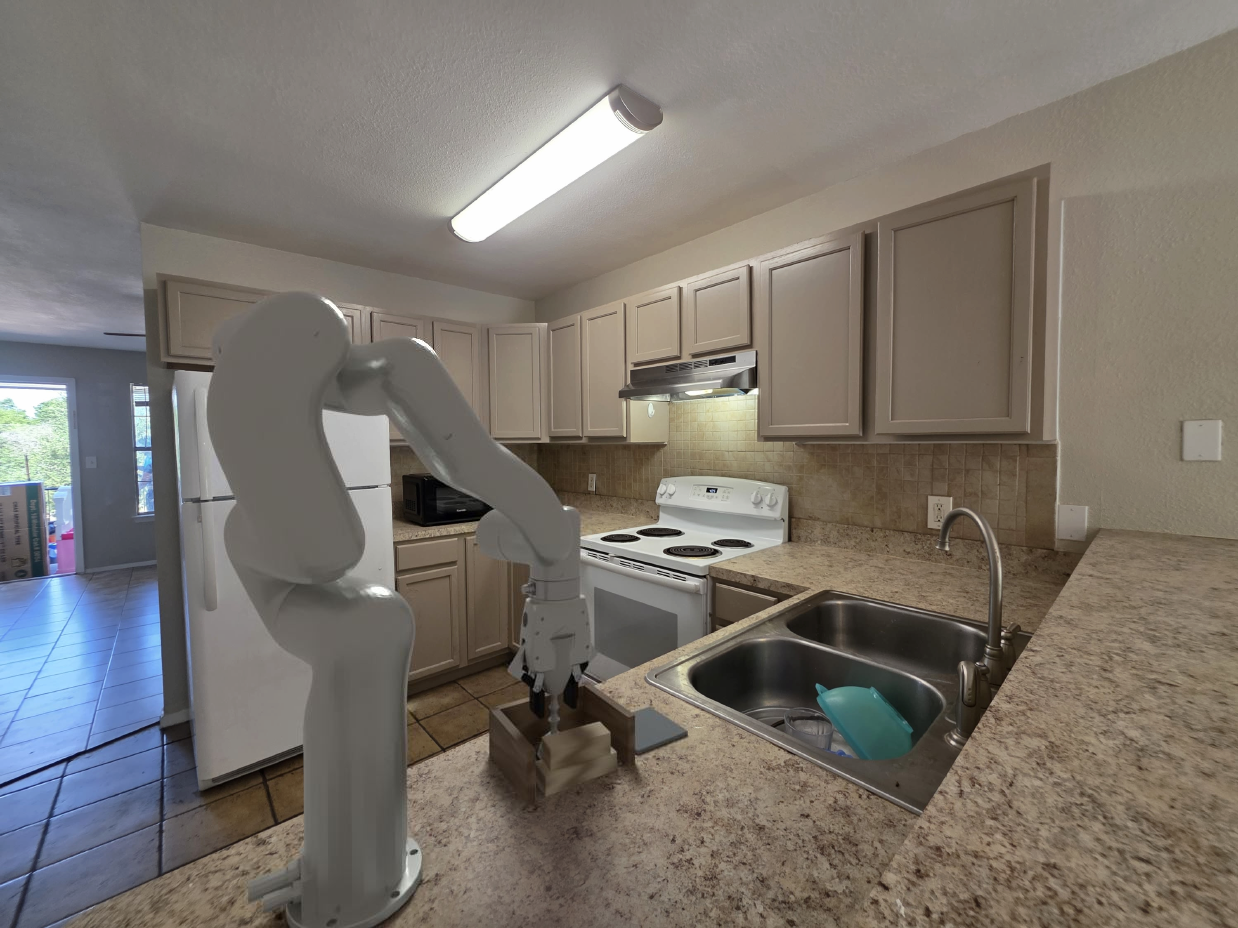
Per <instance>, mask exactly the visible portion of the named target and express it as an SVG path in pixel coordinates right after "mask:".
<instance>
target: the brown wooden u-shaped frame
mask: <svg viewBox="0 0 1238 928" xmlns="http://www.w3.org/2000/svg"><path fill="white" fill-rule="evenodd" d="M557 701H558V705H559V708H558V711H557V715H558V717H559V718H560V720H559V721H558V724H557V730H558V731H559V732H562V731H566V730H570V729H573V728H577V727H581V726H585V725H588V724H592V723H596V722H601V723H602V724H603V725H604V726H605V727H606V729H607V730H608V731H609V732H610V733H611V747H612V748H613V749H614V750H615V751H616V752H617V758H619V759H620V760H622V761H623V762H624V763H625V765H627V766H631V765H634V764H635V763H636V753H635V715H634V714H633V713H632V712H631V711H630V710H628V708H626V707H625V706H623V705H621V704H620V703H618V702H617V701H616V700H614V699H613V698H611V697H610V696H609V695H607V694H606V693H605V692H603V691H602V690H600V689H599V688H598V687H596V686H594V685H593V684H592V683H591V682H589V681H587V680H585V681H582V682H578V700H577V708H576V709H571V708H570V707H569V706H568V705H566V704H565V703H564V702H563V692H562V693H561V694H558V697H557ZM550 704H551V695H550V694H547V693H546V692H545V717H544V718H542V719H539V718H538V717H537V716H536V715H535V714H534V713H533V712H532V711H531V710H530V707H529V697H528V696H527V697H526V698H522V699H518V700H515V701H510V702H507V703H504V704H500V705H496V706H493V707H489V708H488V725H489V726H488V740H489V741H488V751H489V752H488V754H489V757H490V758H491V759H492V761H493V763H495V765H496V766H497V767H498V769H499V770H500V772H501V774H502V775H504V777H505V779H506V780H507V781H508V783H509V784H510V786H511V787H512V788H513V789H514V791H515V793H516V794H517V795H518V796H519V798H520V799H521V801H522V803H524V805H525V806H526V807H527V808H528V807H530V806H532V805H535V804H536V803H537V802H536V794H537V791H536V788H537V786H536V785H537V784H536V761H537V760H536V755H537V753H536V748H535V746H533V745H536V744H539V743H540V744H541V742H542V737H543V736H545V735H546V734H547V733H549V732H550V731H551V723H550V722H549V720H548V719H549V718H550V717H551V710H550V708H549V706H550Z"/></svg>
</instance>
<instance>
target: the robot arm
mask: <svg viewBox="0 0 1238 928" xmlns="http://www.w3.org/2000/svg"><path fill="white" fill-rule="evenodd" d="M211 337H212V338H211V341H210V355H211V360H212V362H213V365H214V367H213V371H212V374H211V378H210V381H209V386H208V391H207V397H206V398H207V399H206V423H207V429H208V431H207V432H208V434H209V438H210V441H211V442H210V443H211V445H212V448H213V451H214V453H215V456H216V458H217V461H218V463H219V466H220V468H221V469H222V472H223V475H224V477H225V478H226V482H227V484H228V486H229V489H230V491H231V493H232V495H233V497H234V499H235V501H236V503H235V504H234V506H233V507H232V508H231V510H230V511H229V512H228V514H227V517H226V519H225V523H224V527H223V541H224V542H223V543H224V548H225V551H226V554H227V558H228V559H229V561H230V564H231V565H232V567H233V569H234V571H235V574H236V575H237V577H238V579H239V581H240V582H241V584H242V587H243V588H244V590H245V592H246V593H247V596H248V598H249V600H250V601H251V603H252V605H253V607H254V609H255V610H256V613H257V614H258V616H259V617H260V620H261V622H262V624H263V625H264V627H265V628H266V630H267V632H268V633H269V634H270V636H271V638H272V639H273V641H274V642H275V643H276V644H277V645H278V646H279V647H280V648H281V649H283V650H284V651H285V652H287V653H289V654H290V655H291V656H294V657H295V658H298V659H299V660H301V661H303V662H304V663H306V664H307V665H309V666H310V667H311V670H312V672H311V673H312V677H311V685H310V687H309V688H310V689H309V693H308V696H307V700H306V704H305V709H304V713H303V714H304V716H303V726H302V727H303V730H302V731H303V732H302V751H303V844H301V845H300V846H299V851H298V853H299V855H298V856H299V857H298V858H296V859H293V860H291V861H288V862H287V866H286V867H283V868H281V869H278V870H275V871H271V872H267V873H265V874H262V875H260V876H257V877H255V878H251V879H249V880H248V889H247V890H248V892H247V895H248V896H247V899H248V900H247V902H248V903H247V904H248V905H250V904H253V903H255V902H256V903H257V902H258V901H261V900H262V914H263V915H264V914H267V913H270V912H272V911H274V910H277V909H279V908H280V907H281V906H285V916H286V917H285V918H286V922H287V924H288V926H289V928H373V927H376V926H377V925H378V924H380V923H382V922H383V921H385V920H386V919H388V918H390V916H392V915H394V913H396V911H398V910H399V909H400V908H401V907H402V906H403V905H404V904H405V903H406V902H407V901H408V900H409V899H410V897H411V896H412V895H413V894H414V892H415V891H416V890H417V887H418V886H419V883H420V881H421V879H422V876H423V871H424V869H423V868H424V857H423V850H422V849H421V847H420V845H419V843H418V842H417V841H416V840H415V839H414V838H412V837H410V836H409V835H408V725H407V724H408V723H407V719H408V717H407V714H408V711H407V710H408V709H407V708H408V706H407V705H408V702H407V701H408V698H407V697H408V683H409V674H410V668H411V661H412V656H413V652H414V646H415V640H416V619H415V616H414V612H413V609H412V608H411V605H409V603H408V601H407V600H406V599H405V598H404V597H403V596H402V594H400V593H399V592H398V591H396V590H394V589H393V588H392V587H390V586H388V585H386V584H383V583H380V582H377V581H373V580H369V579H366V578H361V577H357V576H352V575H349V574H350V573H352V571H353V570H355V568H356V567H357V566H358V564H359V563H360V561H361V560H362V558H363V556H364V553H365V548H366V533H365V532H366V531H365V528H364V525H363V522H362V519H361V517H360V514H359V511H358V510H357V507H356V506H355V503H354V501H353V499H352V497H351V495H350V492H349V489H348V487H347V485H346V483H345V481H344V479H343V476H342V474H341V472H340V469H339V468H338V465H337V463H336V460H335V458H334V456H333V453H332V449H331V448H330V444H329V441H328V439H327V436H326V432H325V427H324V422H323V421H324V420H323V410H324V411H330V412H336V413H342V414H348V415H355V416H363V417H364V416H365V417H377V416H384V415H385V416H386V417H387V418H388V419H389V421H390V422H391V423H392V425H393V426H394V428H395V429H396V430H397V431H398V433H399V434H400V435H401V436H402V437H403V439H404V440H405V441H406V443H407V445H409V447H410V449H412V451H413V452H414V453H415V454H416V456H417V457H418V459H419V460H420V461H421V463H422V464H423V465H424V467H425V468H426V469H427V471H428V472H429V474H431V476H433V477H434V478H435V479H437V480H438V481H440V482H442V483H444V484H445V485H446V486H449V487H451V488H452V489H455V490H456V491H459V492H461V493H463V494H466V495H468V496H470V497H473V498H475V499H476V500H479V501H481V502H483V503H485V504H486V505H489V506H490V507H491V508H493V509H492V510H489V511H488V512H487V513H486V514H484V515H483V516H481V518H480V520H479V521H478V523H477V526H476V528H475V542H476V544H477V546H478V548H479V549H480V551H481V552H482V553H483V554H484V555H486V556H488V557H490V558H492V559H495V560H497V561H502V562H509V563H517V564H523V565H529V567H530V568H529V576H530V577H529V578H528V583H526V584H522V585H521V588H520V589H521V593H522V595H525V594H527V595H528V596H529V597H528V598H526V599H525V601H524V602H525V603H524V607H523V612H522V618H521V623H520V624H521V625H520V634H519V649H518V651H517V653H516V655H515V656H514V658H513V660H512V661H511V662H510V665H509V666H508V667H507V673H508V674H510V675H511V676H512V677H514V678H516V679H517V680H519V681H521V682H522V683H524V684H525V685H526V686H527V687H529V692H528V693H529V707H530V710H531V711H532V712H533V713H534V714H535V715H536V716H537V717H538V718H539V719H542V718H544V717H545V693H546V692H545V690H544V689H543V685H542V683H543V679H544V674H543V673H545V672H550V671H552V670H554V669H555V663H556V652H554V650H555V651H556V648H555V645H554V644H552V642H551V641H550V640H549V639H565V638H568V637H572V636H574V635H575V637H574V638H573V639H572V641H571V642H570V647H569V649H570V650H569V659H570V666H573V669H572V672H571V675H570V678H569V680H568V682H567V684H566V686H565V689H564V691H563V702H564V703H565V704H566V705H568V706H569V707H570V708H571V709H576V708H577V700H578V683H580V681H582V679H583V674H584V673H585V671H586V670H587V668H588V666H589V664H590V663H591V662H593V660H594V659H596V657H597V656H598V650H597V649H596V648H595V646H594V645H593V644H592V638H591V636H592V635H591V624H590V616H589V615H590V614H589V609H588V603H587V599H586V596H585V595H584V594H581V541H582V540H581V535H582V534H581V533H582V531H581V529H582V528H581V526H582V525H581V522H582V521H581V520H582V518H581V514H580V511H579V510H578V509H577V508H576V507H573V506H569V505H563V504H562V502H561V501H560V500H559V497H558V496H557V495H556V493H555V491H554V490H553V488H552V487H551V486H550V485H549V483H548V482H547V481H546V479H544V478H543V477H542V475H540V474H539V473H538V472H537V471H536V470H534V468H532V467H531V466H530V465H528V463H526V462H524V461H523V460H522V459H521V458H520V457H518V456H517V455H516V454H514V453H513V452H512V451H510V450H509V449H508V448H506V447H505V446H504V445H502V444H501V443H499V442H498V441H496V440H495V438H493V437H492V435H490V433H489V432H488V429H486V428H485V426H484V424H483V423H482V421H481V420H480V418H479V417H478V415H477V413H476V412H475V410H474V409H473V406H472V405H471V404H470V403H469V401H468V400H467V397H466V396H465V395H464V393H463V392H462V390H461V389H460V387H459V386H458V384H457V382H456V381H455V380H454V379H455V378H453V376H452V375H451V372H449V370H448V369H447V368H446V366H445V364H444V363H443V361H442V360H441V358H440V356H439V355H438V354H437V353H436V351H435V350H434V349H433V348H432V347H431V346H430V345H429V344H427V343H426V342H424V341H423V340H421V339H418V338H415V337H409V336H398V337H397V336H396V337H390V338H385V339H381V340H377V341H373V342H371V343H367V344H364V345H363V344H357V343H352V339H351V337H352V336H351V332H350V328H349V325H348V321H346V319H345V316H344V314H343V313H342V311H341V310H339V308H338V307H337V306H336V304H334V303H333V302H332V301H331V300H330V299H328V298H326V297H324V296H322V295H320V294H317V293H314V292H310V291H301V290H292V291H291V290H290V291H285V292H279V293H276V294H272V295H270V296H268V297H266V298H263V299H261V300H259V301H257V302H255V303H253V304H251V305H250V306H247V308H245V309H243V310H241V311H239V312H237V313H235V314H233V315H231V316H230V317H228V318H226V319H225V320H224V321H223V322H222V323H221V324H220V325H219V326H218V327H216V330H215V331H214V333H213V334H212V336H211ZM525 665H526V666H527V669H528V673H527V672H526V671H525V670H523V666H525Z"/></svg>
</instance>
